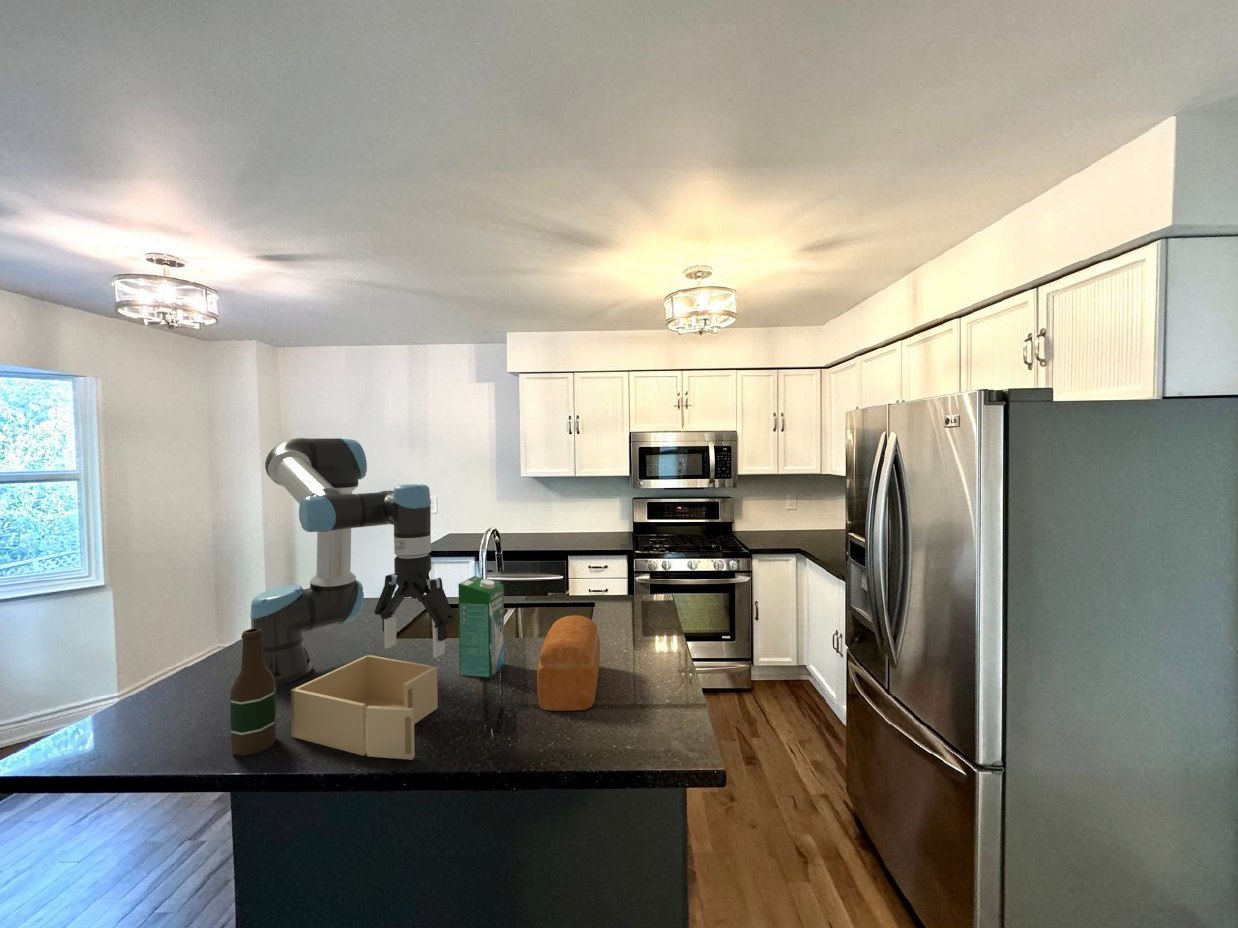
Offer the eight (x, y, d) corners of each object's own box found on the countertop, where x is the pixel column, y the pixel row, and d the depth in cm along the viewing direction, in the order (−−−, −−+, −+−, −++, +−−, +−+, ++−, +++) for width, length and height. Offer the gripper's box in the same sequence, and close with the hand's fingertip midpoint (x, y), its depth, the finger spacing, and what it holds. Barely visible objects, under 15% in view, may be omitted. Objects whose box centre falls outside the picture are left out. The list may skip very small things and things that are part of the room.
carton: (291, 736, 107) (290, 690, 107) (368, 694, 126) (367, 654, 126) (363, 755, 100) (362, 705, 100) (433, 707, 119) (432, 665, 119)
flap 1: (370, 753, 100) (369, 705, 100) (414, 756, 99) (413, 708, 99) (366, 756, 99) (365, 708, 99) (411, 760, 98) (410, 711, 98)
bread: (601, 664, 143) (600, 609, 142) (594, 712, 116) (593, 644, 116) (552, 664, 143) (551, 609, 143) (534, 712, 117) (534, 644, 117)
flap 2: (404, 727, 110) (403, 683, 109) (434, 707, 118) (433, 666, 118) (408, 728, 109) (407, 684, 109) (438, 708, 118) (437, 667, 118)
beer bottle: (247, 736, 107) (244, 624, 107) (285, 734, 108) (283, 623, 108) (221, 758, 100) (218, 637, 99) (263, 756, 100) (260, 636, 100)
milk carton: (490, 677, 135) (489, 584, 134) (459, 675, 137) (458, 583, 136) (504, 663, 144) (503, 576, 143) (475, 661, 146) (474, 575, 145)
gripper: (356, 554, 112) (357, 648, 113) (447, 562, 103) (448, 665, 104) (383, 548, 119) (384, 637, 120) (470, 555, 110) (471, 651, 111)
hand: (414, 650), depth 112 cm, fingers open, 13 cm apart
